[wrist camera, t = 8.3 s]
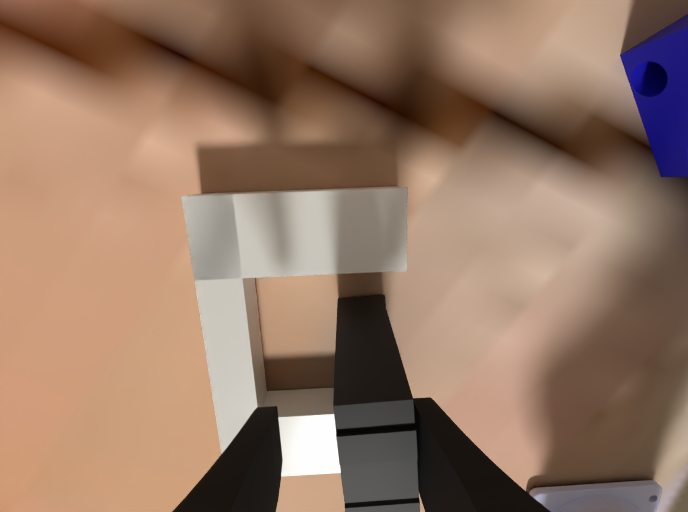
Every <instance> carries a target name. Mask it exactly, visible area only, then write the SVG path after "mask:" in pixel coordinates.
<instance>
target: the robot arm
mask: <svg viewBox="0 0 688 512" xmlns="http://www.w3.org/2000/svg"><path fill="white" fill-rule="evenodd" d="M413 403H414V419H415V429H416V439H417V455H418V459H417V468H418V489H419V493H420V497H421V500H422V503H423V506H424V509H425V512H657V510H658V506H659V502H660V498H661V494H662V487H661V486H660V485H659V484H658V483H657V482H656V481H654V480H644V481H629V482H614V483H599V484H584V485H569V486H554V487H539V488H534V489H532V490H531V491H530V493H529V494H528V493H527V492H526V491H525V490H523V489H522V488H521V487H520V486H519V485H518V484H517V483H515V482H514V481H513V480H512V479H511V478H510V477H509V476H508V475H507V474H505V473H504V472H503V471H502V470H501V469H500V468H499V467H498V466H497V465H496V464H495V463H493V462H492V461H491V460H490V459H489V458H488V457H487V456H486V455H485V454H484V453H483V452H482V451H481V450H480V449H479V448H478V447H477V446H476V445H475V444H474V443H473V442H472V441H471V440H470V439H469V438H468V437H467V436H466V435H465V434H464V433H463V432H462V431H461V430H460V428H459V427H458V426H457V425H456V424H455V423H454V422H453V421H452V420H451V419H450V418H449V417H448V416H447V414H446V413H445V412H444V411H443V410H442V409H441V408H440V407H439V406H438V404H437V403H436V402H435V401H434V400H433V399H432V398H413ZM282 462H283V459H282V449H281V439H280V429H279V419H278V409H277V406H270V407H257V408H256V409H255V410H254V411H253V413H252V414H251V416H250V417H249V418H248V420H247V421H246V423H245V424H244V425H243V427H242V428H241V429H240V431H239V432H238V434H237V435H236V436H235V438H234V439H233V440H232V442H231V443H230V444H229V445H228V447H227V448H226V449H225V451H224V452H223V453H222V454H221V456H220V457H219V458H218V459H217V461H216V462H215V463H214V465H213V466H212V467H211V468H210V469H209V471H208V472H207V473H206V474H205V475H204V477H203V478H202V479H201V480H200V481H199V482H198V484H197V485H196V486H195V487H194V488H193V489H192V490H191V492H190V493H189V494H188V495H187V496H186V497H185V499H184V500H183V501H182V502H181V503H180V504H179V505H178V506H177V507H176V508H175V509H174V511H173V512H276V507H277V502H278V497H279V488H280V480H281V471H282Z"/></svg>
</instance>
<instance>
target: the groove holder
mask: <svg viewBox="0 0 688 512" xmlns="http://www.w3.org/2000/svg"><path fill="white" fill-rule="evenodd" d="M181 197H182V203H183V210H184V216H185V222H186V229H187V235H188V242H189V248H190V255H191V261H192V267H193V274H194V280H195V287H196V293H197V300H198V306H199V312H200V319H201V325H202V332H203V338H204V344H205V351H206V357H207V364H208V370H209V377H210V383H211V389H212V396H213V402H214V409H215V415H216V422H217V428H218V434H219V441H220V447H221V454H222V453H223V452H224V451H225V449H226V448H227V447H228V445H229V444H230V443H231V442H232V440H233V439H234V438H235V436H236V435H237V434H238V432H239V431H240V429H241V428H242V427H243V425H244V424H245V423H246V421H247V420H248V418H249V417H250V416H251V414H252V413H253V411H254V410H255V409H256V408H257V407H270V406H277V409H278V419H279V429H280V439H281V449H282V459H283V462H282V471H281V476H297V475H313V474H328V473H341V470H340V465H339V457H338V449H337V440H336V427H335V419H334V410H333V396H334V387H333V388H315V389H297V390H279V391H267V387H266V377H265V368H264V359H263V349H262V340H261V331H260V322H259V312H258V303H257V294H256V284H255V278H261V277H283V276H305V275H327V274H349V273H371V272H393V271H407V202H408V188H407V187H400V186H390V187H364V188H337V189H310V190H284V191H257V192H230V193H204V194H194V195H187V196H181Z"/></svg>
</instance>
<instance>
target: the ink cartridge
mask: <svg viewBox="0 0 688 512" xmlns="http://www.w3.org/2000/svg"><path fill="white" fill-rule="evenodd" d="M333 410H334V419H335V427H336V440H337V449H338V457H339V465H340V470H341V478H342V486H343V493H344V501H345V512H420V502H419V489H418V468H417V459H418V455H417V439H416V429H415V419H414V403H413V397H412V394H411V390H410V387H409V384H408V380H407V377H406V374H405V370H404V367H403V364H402V360H401V357H400V354H399V350H398V347H397V344H396V340H395V337H394V334H393V330H392V327H391V324H390V320H389V317H388V314H387V310H386V303H385V295H382V294H380V295H369V296H358V297H347V298H338V306H337V329H336V351H335V374H334V396H333Z"/></svg>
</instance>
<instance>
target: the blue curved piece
mask: <svg viewBox="0 0 688 512" xmlns="http://www.w3.org/2000/svg"><path fill="white" fill-rule="evenodd" d="M620 57H621V60H622V63H623V66H624V69H625V71H626V74H627V77H628V80H629V83H630V86H631V89H632V92H633V95H634V98H635V101H636V104H637V107H638V110H639V113H640V116H641V119H642V122H643V125H644V128H645V131H646V134H647V137H648V140H649V142H650V145H651V148H652V151H653V154H654V157H655V160H656V163H657V166H658V169H659V172H660V175H661V177H688V14H687V15H685V16H684V17H682V18H680V19H679V20H677V21H676V22H674V23H672V24H671V25H669V26H667V27H666V28H664V29H662V30H661V31H659V32H658V33H656V34H654V35H653V36H651V37H649V38H648V39H646V40H645V41H643V42H641V43H640V44H638V45H636V46H635V47H633V48H631V49H630V50H628V51H627V52H625V53H623V54H622V55H620Z"/></svg>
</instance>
